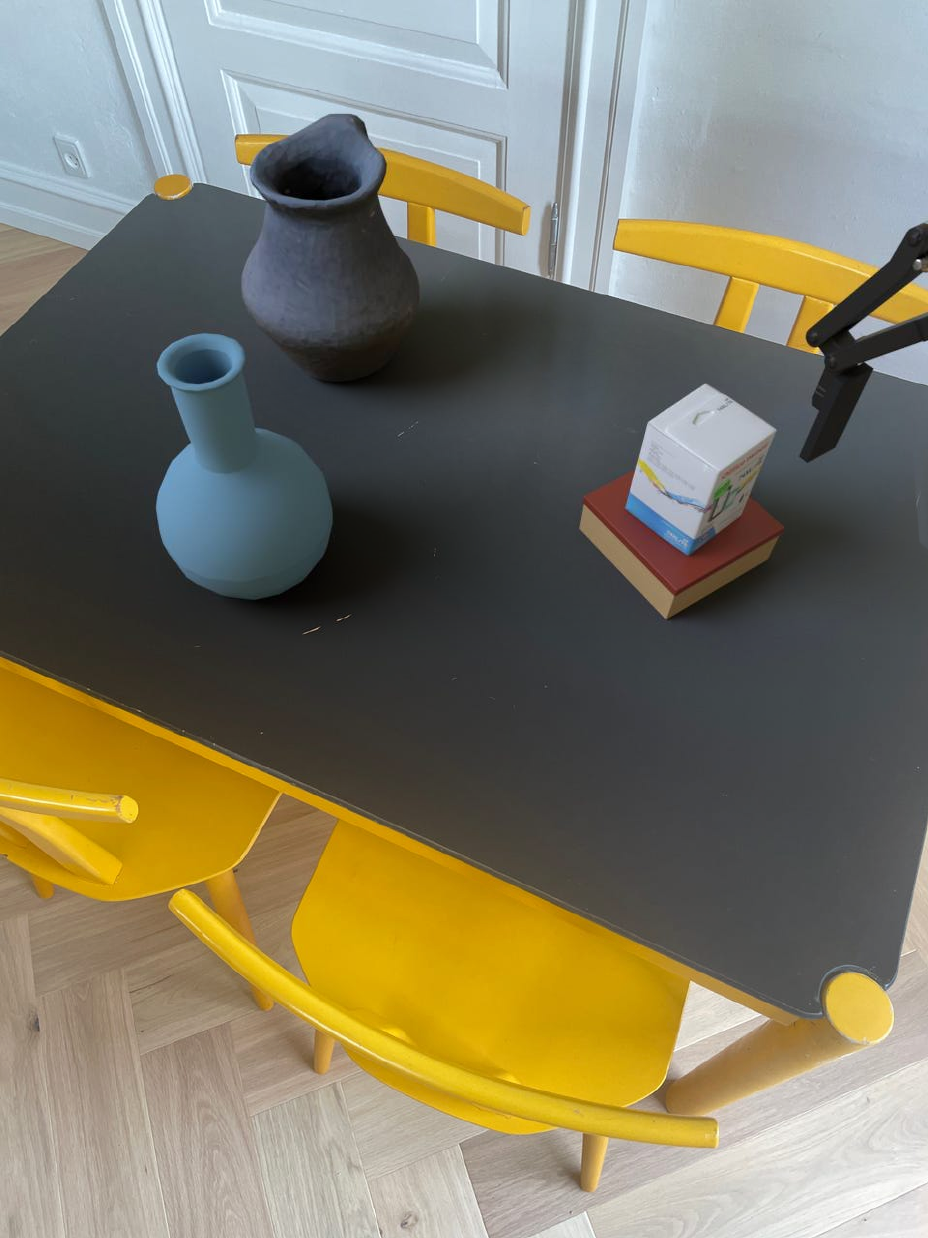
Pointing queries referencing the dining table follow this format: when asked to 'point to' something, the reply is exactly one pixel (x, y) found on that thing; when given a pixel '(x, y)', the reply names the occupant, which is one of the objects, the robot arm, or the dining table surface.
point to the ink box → (698, 467)
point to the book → (674, 549)
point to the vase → (236, 482)
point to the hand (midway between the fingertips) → (897, 515)
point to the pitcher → (328, 253)
